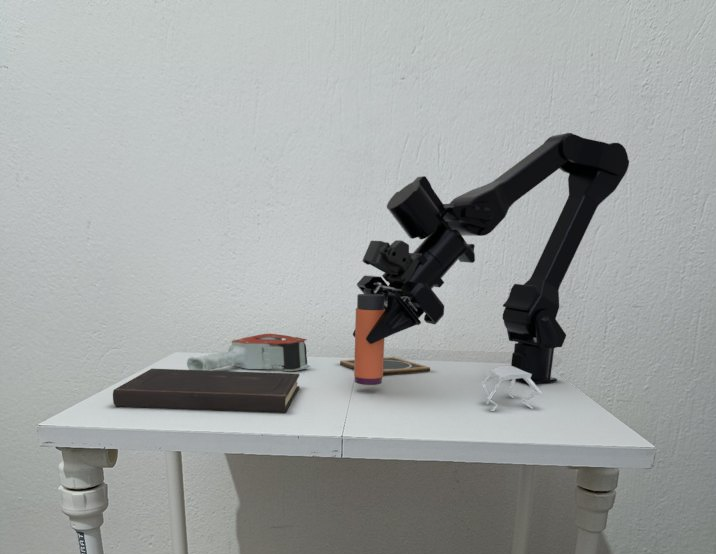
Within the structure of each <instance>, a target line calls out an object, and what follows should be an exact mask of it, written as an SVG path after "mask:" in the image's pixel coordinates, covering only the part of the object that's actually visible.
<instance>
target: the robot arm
mask: <svg viewBox="0 0 716 554" xmlns="http://www.w3.org/2000/svg"><path fill="white" fill-rule="evenodd" d="M629 166H630V160H629V156H628V152H627V150H626V147H625V146H624V145H623V144H621V143H620V142H609V143H607V142H605V141H600V140H594V139H591V138H590V139H589V138H586V137H582V136H580V135H577V134H574V133H572V132H566V133H561V134H554V135H551V136H549V137H548V138H547V139H546V140H545V141H544V142H543V143H542V144H541V145H540V146H538V147H537V148H536V149H535V150H533V151H532V152H530V153H529V154H527V155H526V156H524V158H522V159H521V160H520V161H518V162H516V163H515V164H514V165H513V166H512V167H510V168H509V169H507V170H506V171H505V172H503V173H502V174H501V175H500V176H499V177H497V178H495V179H494V180H493V181H491V182H489V183H487V184H485V185H482V186H479V187H476V188H473V189H471V190H469V191H467V192H465V193H462V194H460V195H458V196H456V197H454V198H453V199H452V200H451V201H450V203H443V202H442V200H441V198H440V197H439V196H438V194H437V193H436V192H435V190H434V189H433V187H432V185H431V182H430V181H429V179H428V178H427V176H426V175H423V176H417V177H415V179H414V180H413V181H412V182H410V183H408V184H407V185H405V186H404V187H402V188H401V189H400V190H399V191H396V192H395V193H394V194H393V195H392V196H391V198H390V199H389V200H388V202H387V204H386V209H387V210H388V211H389V212H390V214H391V216H392V217H393V218H394V220H395V221H396V222H397V224H398V225H399V226H400V227H401V228H402V230H403V231H404V232H405V234H406V235H407V236H408V237H409V239H412V240H413V239H417V238H418V239H419V240H422V241H421V243H419V245H418V246H417V247H416V249H415V250H414V251H413V252H410V244H408V243H407V242H405V241H403V240H401V239H400V240H399V239H398V240H397V239H396V240H394V241H393V242H392V243H391V244H390V242H385V241H382V240H370V241H369V244H368V247H367V248H366V251H365V254H364V256H363V258H362V260H361V262H363V263H364V264H365V265H367V266H368V265H370V266H371V267H373V268H376V270H379V271H381V272H383V274H382V275H381V276H379V275H363V276H362V278H361V279H359V281H358V282H356V286H357V288H358V289H359V290H360V291H361V293H362V294H380V295H385V300H384V309H385V311H384V313H383V314H382V315H381V317H380V318H379V320H378V321H377V322H376V324H375V325H374V327H373V328H372V329H371V331H370V332H369V334H368V336H367V337H366V340H367V341H368V342H369V343H370V344H372V343H374V342H377V341H379V340H381V339H383V338H384V339H386V338H388V337H390V336H392V335H394V334H397V333H400V332H402V331H405V330H407V329H409V328H412V327H415V326H420V325H421V324H422V321H421V319H420V318H421V316H423V314H424V313H425V314H424V318H423V321H424V322H425V323H426V324H430V325H437V323H438V322H439V321H440V320H441V319H442V318H443V316H444V315H445V304H444V303H443V302H442V301H441V299H440V298H439V297H438V296H437V294H436V293H435V291H434V290H433V288H441V287H442V286H443V285H444V284H445V281H444V280H443V279H442V278H443V277H444V276H445V275H446V274H447V273H448V272H449V270H450V269H451V268H452V267H453V266H454V265H455V264H456V262H458V261H459V262H460V263H470V264H473V263H475V261H476V254H475V244H474V243H468V242H467V241H466V240H465V238H464V237H465V236H466V237H468V236H469V237H473V236H474V237H482V236H483V237H484V236H487V235H489V234H490V233H492V232H493V231H494V229H496V227H497V226H499V224H500V223H501V222H502V221H503V220H504V219H505V218H506V216H507V214H508V212H509V210H510V208H511V207H512V206H513V205H514V204H515V203H516V202H517V201H518V200H519V199H521V198H522V197H524V196H525V195H526V194H528V193H529V192H530V191H531V190H533V189H534V188H536V187H537V186H538V185H539V184H541V183H542V182H544V181H545V180H546V179H547V178H549V177H550V176H551V175H553V174H554V173H555V172H556V171H558V170H560V171H561V172H564V173H566V174H568V178H567V184H568V185H567V186H568V197H567V199H566V201H565V203H564V206H563V208H562V210H561V212H560V214H559V216H558V219H557V221H556V222H555V225H554V227H553V229H552V231H551V233H550V235H549V238H548V240H547V242H546V245H545V247H544V248H543V250H542V253H541V255H540V257H539V259H538V261H537V264H536V266H535V268H534V270H533V271H532V274H531V276H530V278H529V279H528V280H527V281H526V282H525V283H523V284H521V283H520V284H519V283H514V284H513V285H512V287H511V289H510V292H509V294H508V298H507V299H506V300H505V302H504V303H503V304H502V307H503V308H504V309H503V312H502V320H503V325H504V327H505V329H506V333H507V337H508V341H509V342H514V349H513V352H512V354H511V362H510V366H513V367H516V368H518V369H520V370H523V371H525V372H527V373H530V374H532V376H531V378H530V379H531V380H532V381H533V382H534V383H535V385H536V384H544V383H553V382H555V383H556V382H558V378H557V377H552V368H553V360H554V352H555V349H556V348H562V347H563V345H564V343H565V340H566V338H567V334H566V332H565V331H564V329H563V327H562V326H561V325H560V323H559V321H558V320H557V316H558V313H559V309H560V293H559V292H560V287H561V285H562V282H563V281H564V278H565V277H566V274H567V272H568V270H569V268H570V266H571V264H572V262H573V259H574V257H575V256H576V252H577V251H578V249H579V247H580V246H581V245H580V244H581V243H582V240H583V239H584V236H585V234H586V232H587V230H588V228H589V225H590V223H591V222H592V219H593V217H594V215H595V213H596V210H597V209H598V207H599V206H600V205H601V204H602V203H603V202H604V201H605V200H606V199H607V198H608V197H609V196H611V195H612V194H613V193H614V192H615V191H616V189H617V188H618V186H619V185H620V183H621V182H622V181H623V179H624V177H625V176H626V174H627V172H628V169H629ZM352 336H353V337H354V338H355V329H354V331H353V333H352ZM515 380H516V381H517V382H521V383H524V384H528V383H527V382H526V381H525V380H524V379H523V378H518V379H515Z"/></svg>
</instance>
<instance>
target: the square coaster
mask: <svg viewBox="0 0 716 554" xmlns="http://www.w3.org/2000/svg"><path fill="white" fill-rule="evenodd" d="M354 361H355V359H344V360H343V359H341V360H340V361H339V365H340V366H342V367H346V368H348V369H351V370H354ZM429 372H431V367H430V366H427V365H424V364H420V363H417V362H414V361H409V360H406V359H402V358H399V357H396V356H389V357H384V360H383V377H384V376H394V375H406V374H407V375H408V374H420V373H429Z"/></svg>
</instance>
